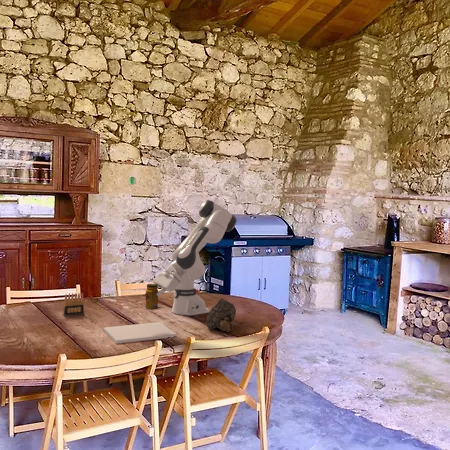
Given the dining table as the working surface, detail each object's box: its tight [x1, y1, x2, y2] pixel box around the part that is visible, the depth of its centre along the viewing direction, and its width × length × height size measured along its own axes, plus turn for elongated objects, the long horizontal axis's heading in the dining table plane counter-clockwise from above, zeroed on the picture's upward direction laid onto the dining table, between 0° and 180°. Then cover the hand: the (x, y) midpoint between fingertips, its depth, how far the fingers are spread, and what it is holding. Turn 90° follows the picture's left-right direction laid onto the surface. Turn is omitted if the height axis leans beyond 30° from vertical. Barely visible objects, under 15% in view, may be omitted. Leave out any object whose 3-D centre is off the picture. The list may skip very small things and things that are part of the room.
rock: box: [204, 298, 237, 333], centre depth 252 cm, size 18×14×15 cm
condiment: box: [142, 283, 164, 311], centre depth 241 cm, size 7×8×12 cm
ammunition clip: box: [63, 292, 85, 316], centre depth 268 cm, size 11×2×12 cm, turn 120°
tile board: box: [102, 321, 178, 344], centre depth 238 cm, size 30×22×2 cm
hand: (154, 293), depth 241 cm, fingers closed on condiment, 6 cm apart
